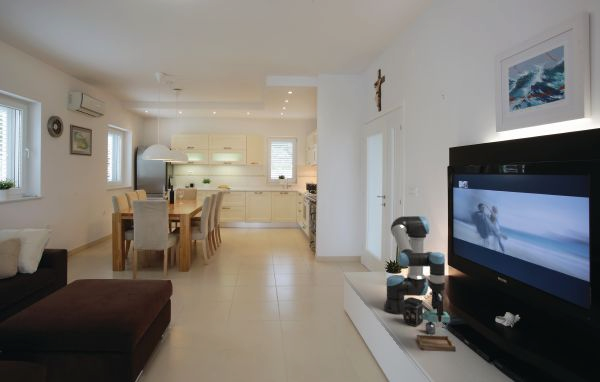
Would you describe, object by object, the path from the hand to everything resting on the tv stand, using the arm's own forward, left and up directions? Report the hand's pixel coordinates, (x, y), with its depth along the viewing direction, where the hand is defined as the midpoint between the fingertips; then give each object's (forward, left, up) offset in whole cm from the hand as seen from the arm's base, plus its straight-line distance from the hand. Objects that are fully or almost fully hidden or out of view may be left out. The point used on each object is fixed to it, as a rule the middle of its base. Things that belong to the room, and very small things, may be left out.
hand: (437, 324), depth 191 cm
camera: (-28, -8, -12) cm, 32 cm away
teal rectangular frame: (0, 0, +2) cm, 2 cm away
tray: (0, -1, -12) cm, 12 cm away
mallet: (-15, 0, -12) cm, 19 cm away
